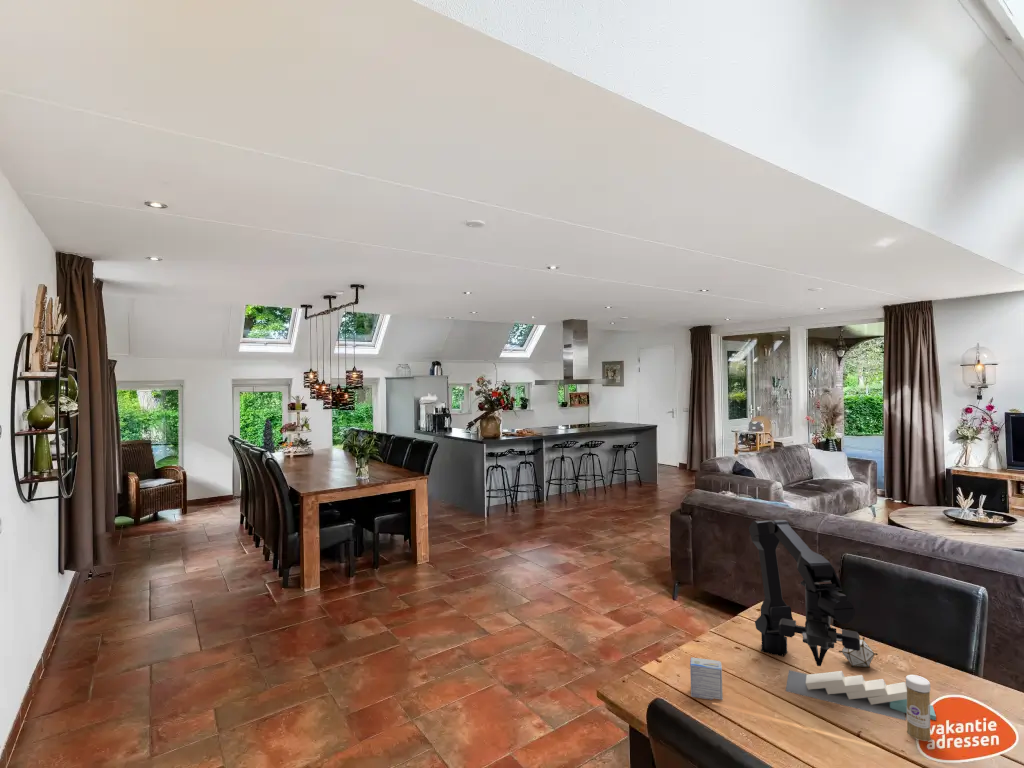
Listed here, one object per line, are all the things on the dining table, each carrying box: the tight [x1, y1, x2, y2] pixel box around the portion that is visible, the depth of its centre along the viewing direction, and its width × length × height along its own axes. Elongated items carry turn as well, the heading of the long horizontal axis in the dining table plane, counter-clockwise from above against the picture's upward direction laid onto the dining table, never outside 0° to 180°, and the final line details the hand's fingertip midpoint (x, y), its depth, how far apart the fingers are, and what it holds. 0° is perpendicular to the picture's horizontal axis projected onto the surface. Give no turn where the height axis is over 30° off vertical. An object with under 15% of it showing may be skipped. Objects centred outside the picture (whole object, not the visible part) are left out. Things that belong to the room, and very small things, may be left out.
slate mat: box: [785, 669, 907, 721], centre depth 143 cm, size 26×12×1 cm, turn 59°
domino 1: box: [806, 670, 846, 690], centre depth 145 cm, size 2×5×9 cm
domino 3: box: [846, 678, 888, 699], centre depth 140 cm, size 2×5×9 cm
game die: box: [838, 636, 879, 668], centre depth 157 cm, size 9×8×10 cm
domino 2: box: [825, 674, 866, 694], centre depth 142 cm, size 2×5×9 cm
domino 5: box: [889, 699, 937, 721], centre depth 135 cm, size 2×5×9 cm
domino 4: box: [868, 681, 907, 705], centre depth 138 cm, size 2×5×9 cm
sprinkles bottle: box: [905, 674, 932, 742], centre depth 125 cm, size 5×5×13 cm
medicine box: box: [689, 657, 724, 701], centre depth 144 cm, size 8×4×9 cm, turn 71°
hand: (819, 665), depth 145 cm, fingers closed
